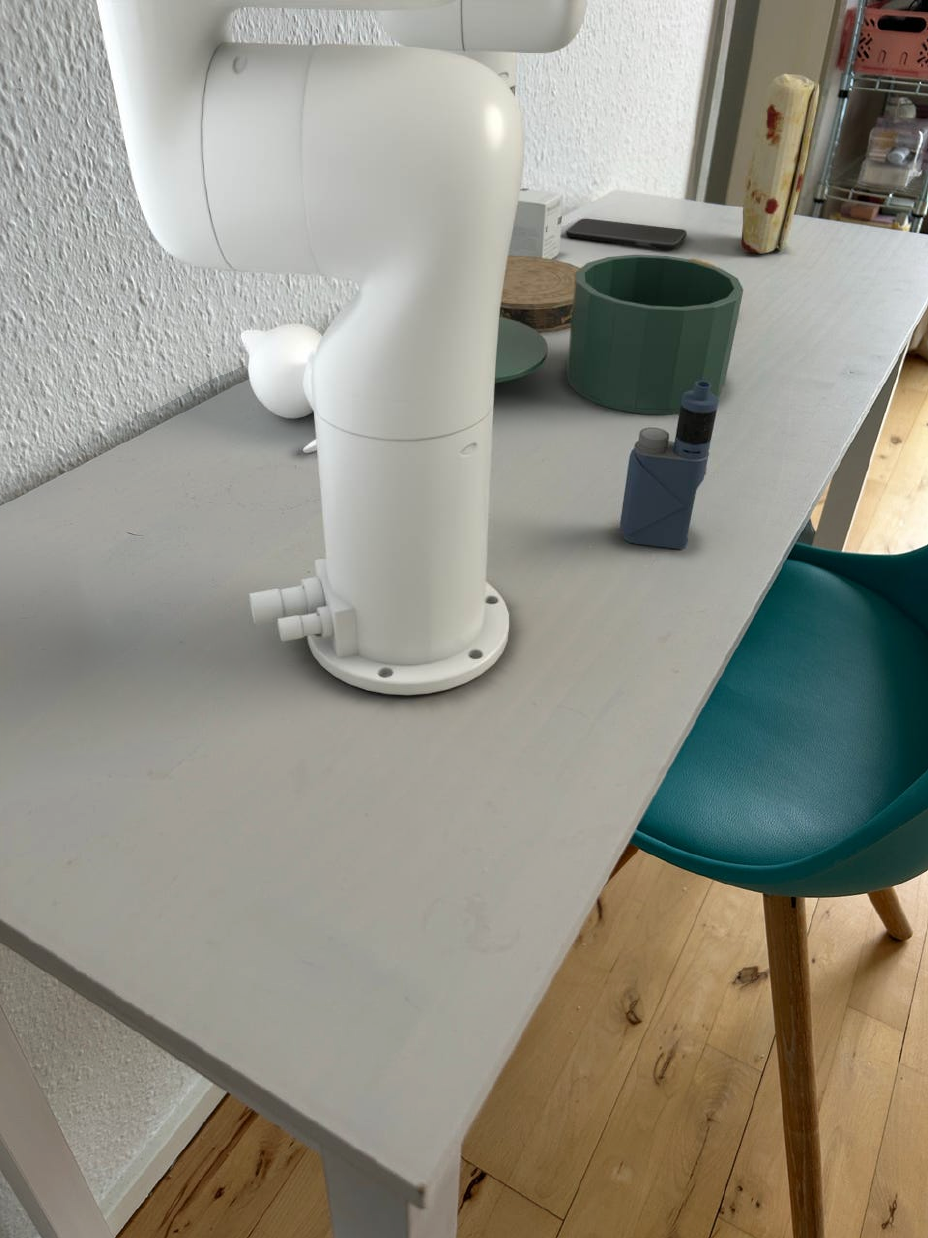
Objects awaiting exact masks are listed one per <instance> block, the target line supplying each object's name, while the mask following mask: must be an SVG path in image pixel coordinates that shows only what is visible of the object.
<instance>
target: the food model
mask: <svg viewBox="0 0 928 1238" xmlns="http://www.w3.org/2000/svg"><path fill="white" fill-rule="evenodd" d="M819 95H820V84H819V82H816V81H813V80H810V79H809V78H807V77H806V76H804V75H801V74H787V73H783V74H780V75H778V76H776V77H774V78H773V79H772V81H770V83H769V85H768V88H767V92H766V96H765V98H764V103H763V105H762V106H763V107H762V110H761V114H760V118H759V122H758V124H757V128H756V132H755V136H754V140H753V146H752V151H751V154H750V160H749V165H748V169H747V173H746V179H745V187H744V195H743V196H744V197H743V204H742V226H741V240H740V241H741V242H740V243H741V247H742V249H744V251H745V252H746V253H755V254H766V253H770V252H773V251H774V250H776V248H777V247H778V249H779V251H783V250H785V248H786V246H787V243H788V239H789V235H790V232H791V227H792V223H793V219H794V215H795V212H796V207H797V203H798V199H799V195H800V191H801V187H802V182H803V178H804V173H805V169H806V164H807V159H808V155H809V149H810V148H809V147H810V142H811V141H810V140H811V138H812V131H813V127H814V122H815V117H816V112H817V108H818V102H819Z"/></svg>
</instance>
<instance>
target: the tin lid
mask: <svg viewBox="0 0 928 1238" xmlns="http://www.w3.org/2000/svg"><path fill="white" fill-rule="evenodd" d="M548 353H549V346H548V342H547V340H546V338H545V337H544V336H543V335H542V334H541V332H537V331H536V330H534V329H532V328H531V327H529V326H527V325H525V324H522V323H520V322H517V321H514V320H511V319H507V318H503V317H499V326H498V338H497V351H496V364H495V384H497V383H503V382H508V381H511V380H512V381H513V380H516V379H519V378H522V377H525V376H526V375H529V374H531V373H533V372H535V371H536V370H537V369H539V368H541V366H542V365H543V364H544V363H545V361H546V359H547V357H548Z"/></svg>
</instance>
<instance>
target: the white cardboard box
mask: <svg viewBox="0 0 928 1238" xmlns="http://www.w3.org/2000/svg"><path fill="white" fill-rule="evenodd" d="M563 203H564V194H563V193H561V192H557V191H547V190H541V189H540V190H539V189H533V188H524V187H521V189H520V195H519V200H518V205H517V210H516V216H515V221H514V226H513V231H512V237H511V242H510V247H509V252H508V256H530V257H539V258H547V259H554V258H556V257H557V256H559V254H560V249H561V248H560V247H561V246H560V245H561V233H562V219H563Z"/></svg>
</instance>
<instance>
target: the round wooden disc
mask: <svg viewBox="0 0 928 1238" xmlns="http://www.w3.org/2000/svg"><path fill="white" fill-rule="evenodd" d="M580 268H581V267H579V266H577V265H574V264H572V263H568V262H566V261H565V262H564V261H561V260H557V259H554V258H552V259H547V258H539V257H530V256H508V258H507V263H506V270H505V277H504V284H503V291H502V298H501V304H500V313H499V317H503V318H507V319H511V320H514V321H517V322H520V323H522V324H525V325H527V326H529V327H531V328H532V329H534V330H536V331H537V332H538V333H545V332H555V331H560V330H564V329H567V328H571V320H572V309H573V298H574V287H575V276H576V272H577V271H578V270H579V269H580Z"/></svg>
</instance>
